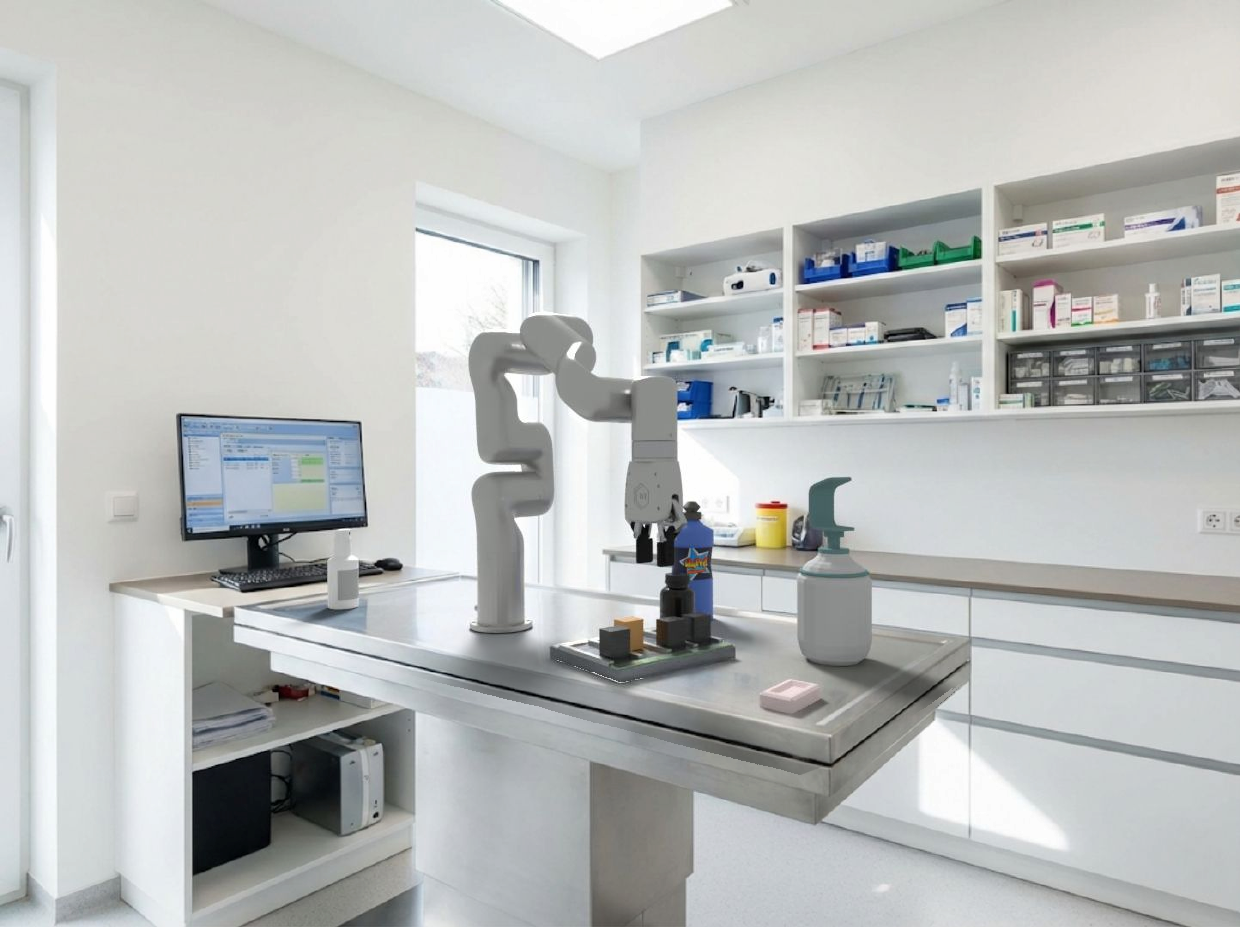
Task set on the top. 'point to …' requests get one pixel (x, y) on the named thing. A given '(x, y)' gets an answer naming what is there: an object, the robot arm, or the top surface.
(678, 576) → the supplement bottle
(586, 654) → the breaker panel
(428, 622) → the top surface
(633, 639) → the handle
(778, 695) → the soap bar
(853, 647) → the soap bottle
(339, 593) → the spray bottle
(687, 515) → the water bottle
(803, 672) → the top surface
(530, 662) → the top surface
